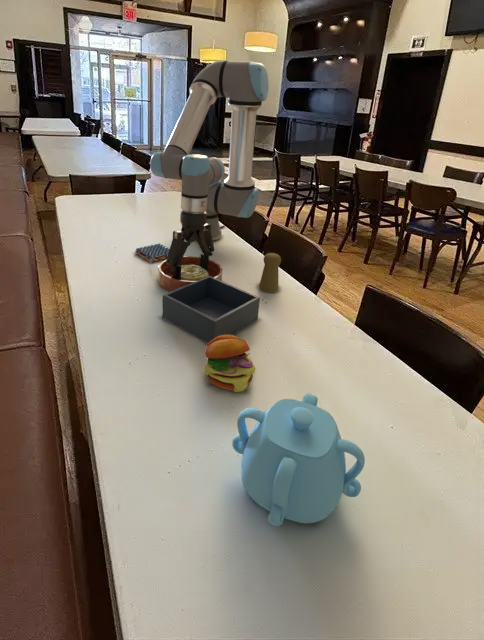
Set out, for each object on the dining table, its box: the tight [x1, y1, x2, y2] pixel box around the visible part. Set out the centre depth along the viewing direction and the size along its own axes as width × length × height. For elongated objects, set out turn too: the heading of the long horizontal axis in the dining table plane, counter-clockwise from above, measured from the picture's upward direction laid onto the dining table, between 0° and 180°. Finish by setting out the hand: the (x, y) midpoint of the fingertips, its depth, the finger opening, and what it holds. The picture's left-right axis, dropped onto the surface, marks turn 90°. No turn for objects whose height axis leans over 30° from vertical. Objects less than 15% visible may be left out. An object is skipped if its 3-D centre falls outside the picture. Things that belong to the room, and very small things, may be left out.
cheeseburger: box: [204, 334, 257, 393], centre depth 85 cm, size 10×11×10 cm
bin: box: [161, 276, 261, 344], centre depth 106 cm, size 18×18×6 cm
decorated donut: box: [181, 264, 208, 281], centre depth 126 cm, size 10×11×4 cm
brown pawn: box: [258, 252, 282, 293], centre depth 125 cm, size 6×6×11 cm
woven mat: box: [134, 243, 170, 264], centre depth 144 cm, size 10×11×2 cm
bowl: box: [157, 255, 223, 292], centre depth 126 cm, size 19×19×4 cm
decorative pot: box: [231, 392, 366, 527], centre depth 61 cm, size 16×16×14 cm
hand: (190, 279), depth 126 cm, fingers closed on bowl, 11 cm apart
